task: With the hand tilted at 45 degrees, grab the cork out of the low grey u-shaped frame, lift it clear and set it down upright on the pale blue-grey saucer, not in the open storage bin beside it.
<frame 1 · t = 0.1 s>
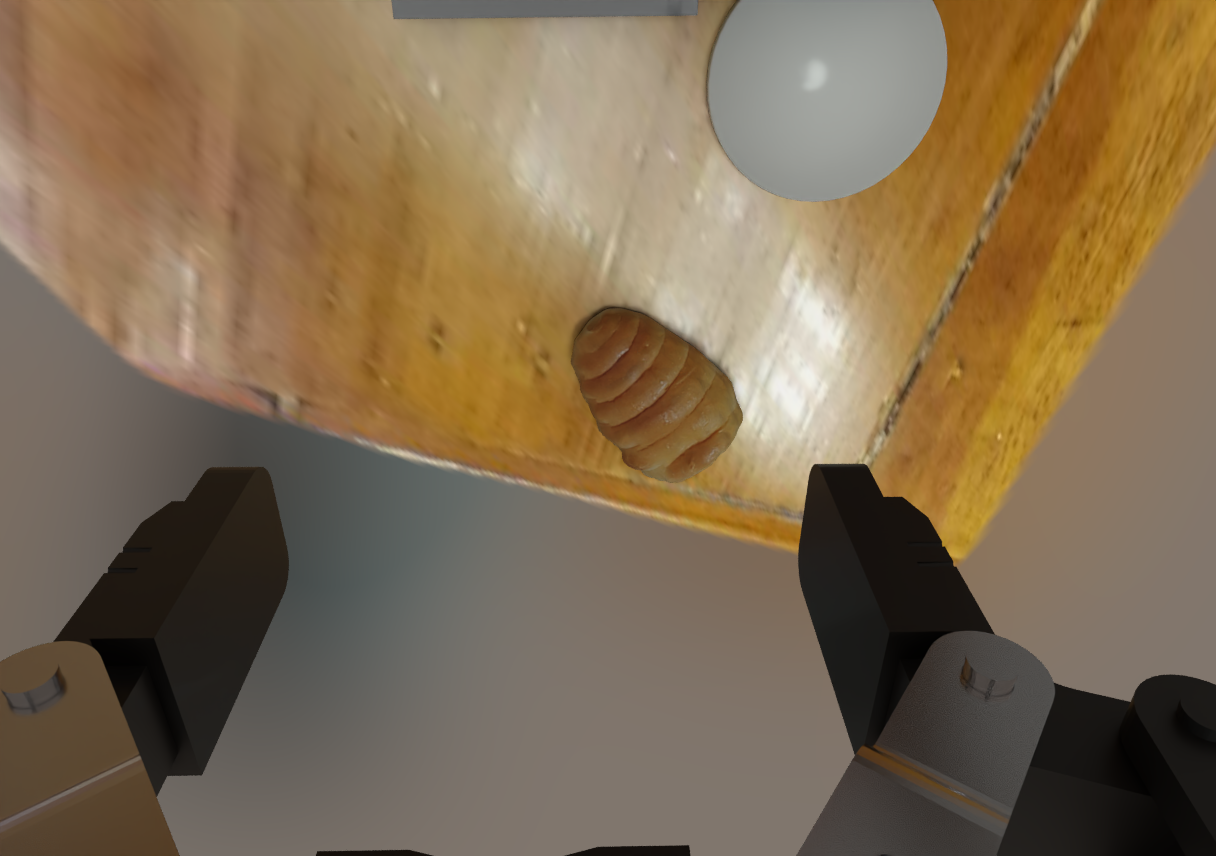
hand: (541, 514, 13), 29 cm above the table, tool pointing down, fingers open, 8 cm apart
saucer: (822, 80, 38), on the table
pastry: (652, 388, 45), on the table
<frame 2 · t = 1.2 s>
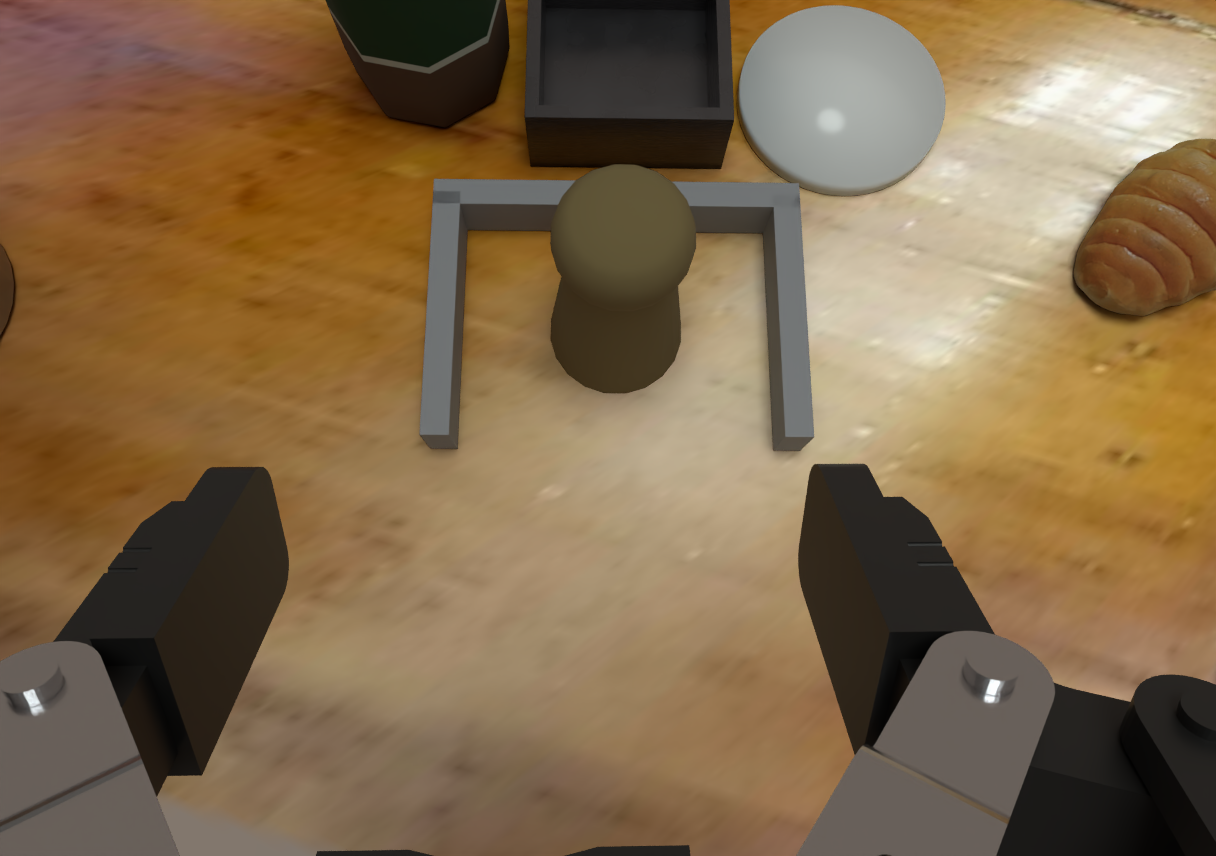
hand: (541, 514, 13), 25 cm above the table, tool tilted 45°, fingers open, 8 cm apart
grey u-shaped frame: (615, 330, 40), on the table
open storage bin: (625, 84, 43), on the table
saucer: (837, 105, 43), on the table
beer bottle: (435, 67, 44), on the table
cork: (615, 332, 40), on the table
pastry: (1158, 246, 42), on the table
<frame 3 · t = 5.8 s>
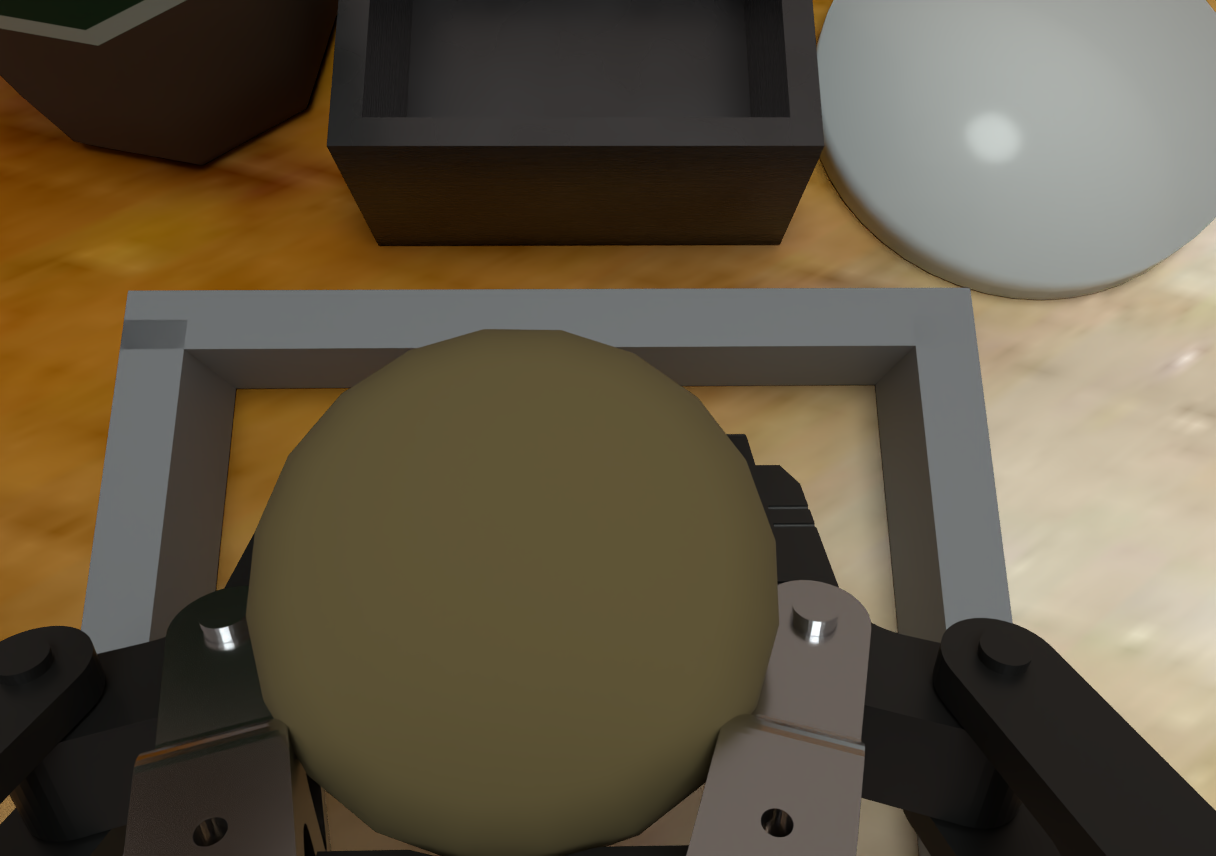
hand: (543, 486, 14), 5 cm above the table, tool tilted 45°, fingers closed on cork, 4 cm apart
grey u-shaped frame: (557, 619, 18), on the table
open storage bin: (579, 71, 21), on the table
saucer: (1013, 107, 21), on the table
beer bottle: (193, 42, 21), on the table
cork: (557, 620, 18), on the table, touching gripper
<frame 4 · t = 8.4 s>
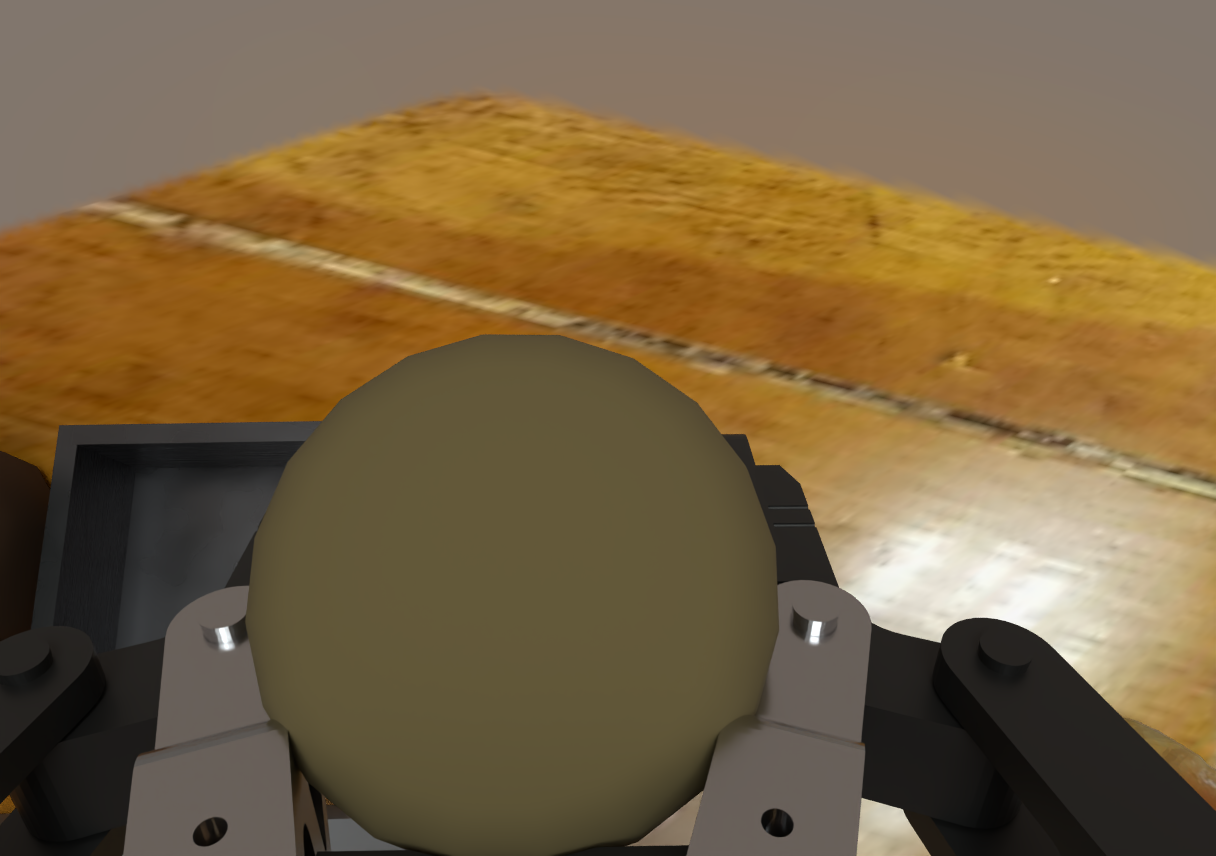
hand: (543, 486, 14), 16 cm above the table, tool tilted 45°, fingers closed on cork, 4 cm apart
open storage bin: (251, 587, 29), on the table
cork: (560, 623, 18), point 11 cm above the table, touching gripper
when the fingers open (7 cm above the table, at t = 11.0 s): cork drops 1 cm, resting on saucer.
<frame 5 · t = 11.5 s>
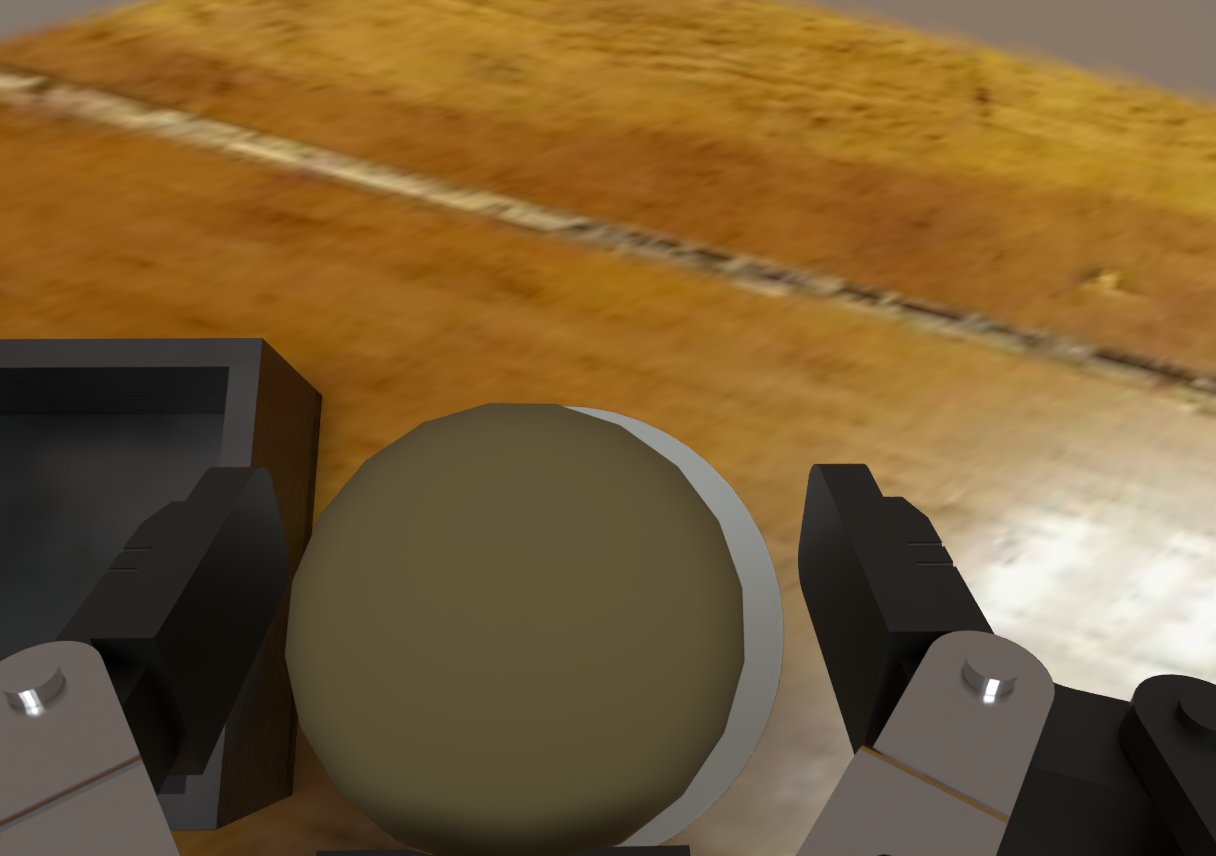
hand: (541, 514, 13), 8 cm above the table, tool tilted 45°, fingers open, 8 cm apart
open storage bin: (108, 585, 20), on the table
saucer: (559, 624, 20), on the table
cork: (556, 639, 19), point 1 cm above the table, touching saucer
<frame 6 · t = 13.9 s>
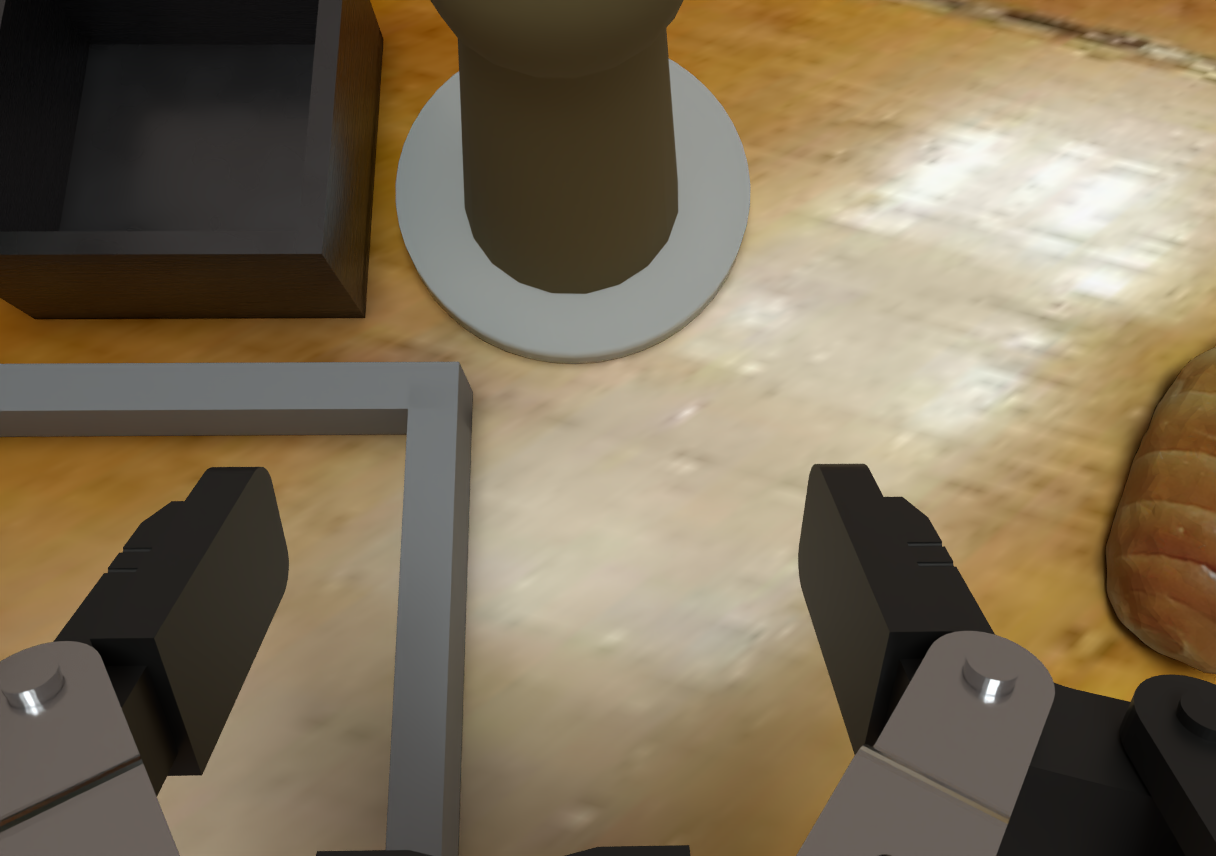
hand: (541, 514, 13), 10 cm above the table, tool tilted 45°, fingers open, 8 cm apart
grey u-shaped frame: (144, 624, 22), on the table
open storage bin: (217, 172, 26), on the table
saucer: (574, 202, 26), on the table
cork: (572, 198, 25), point 1 cm above the table, touching saucer
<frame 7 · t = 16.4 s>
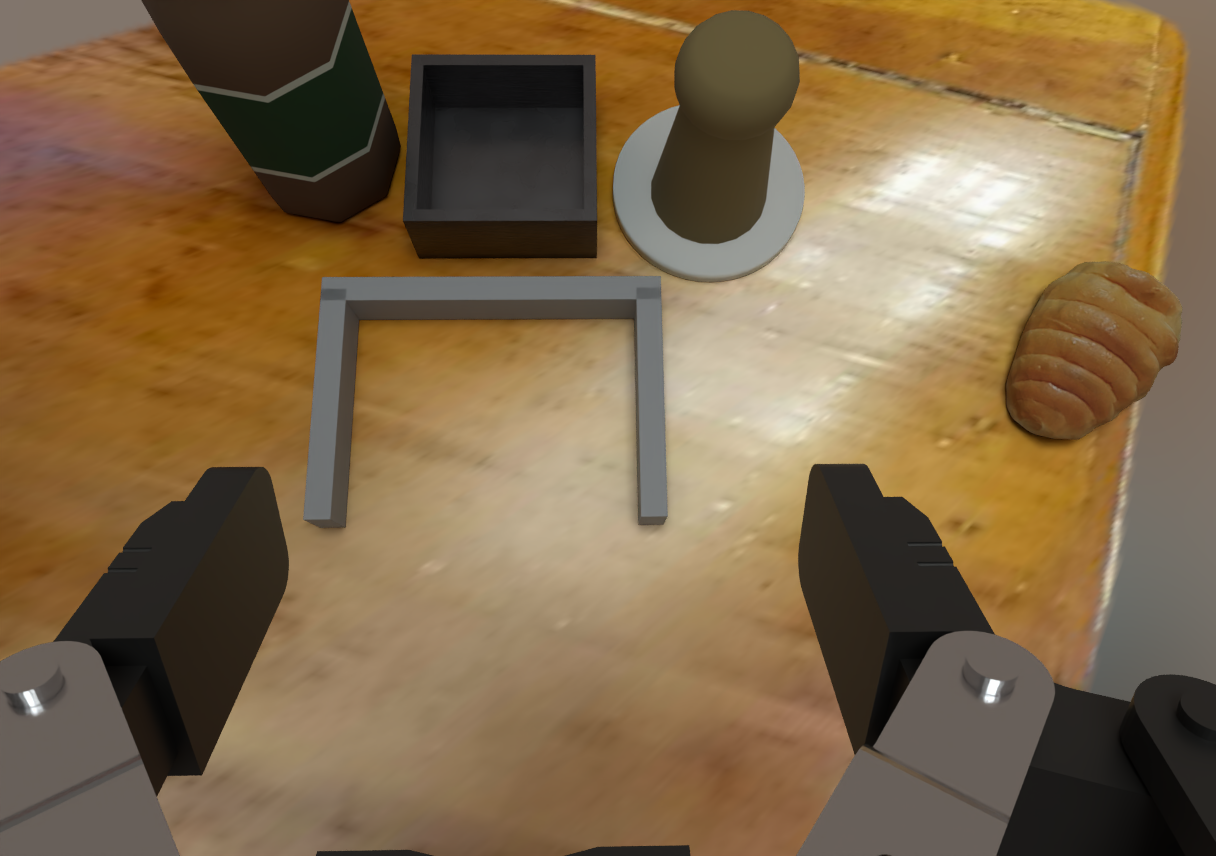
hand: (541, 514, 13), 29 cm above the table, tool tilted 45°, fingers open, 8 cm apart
grey u-shaped frame: (494, 413, 43), on the table
open storage bin: (509, 178, 46), on the table
saucer: (706, 195, 46), on the table
beer bottle: (332, 164, 47), on the table
cork: (707, 193, 46), point 1 cm above the table, touching saucer
pastry: (1078, 360, 45), on the table
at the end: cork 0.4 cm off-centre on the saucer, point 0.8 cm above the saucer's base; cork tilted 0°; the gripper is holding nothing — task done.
